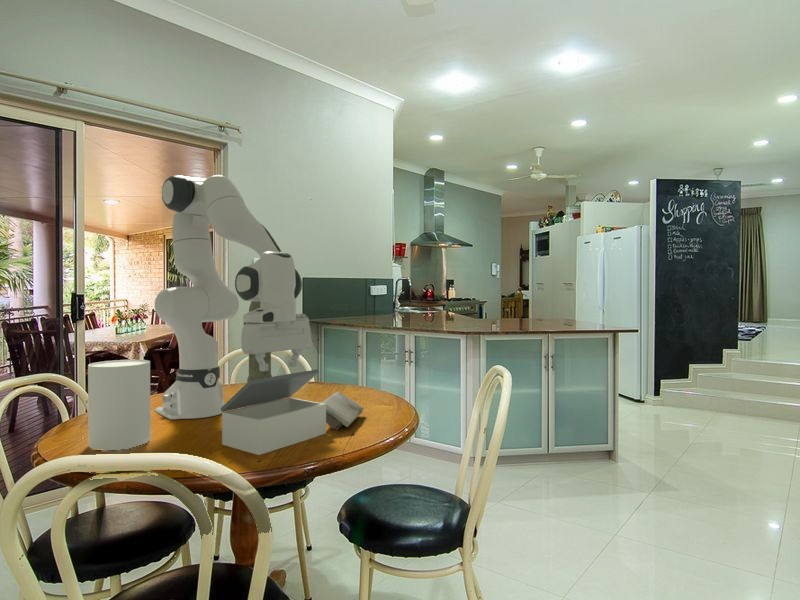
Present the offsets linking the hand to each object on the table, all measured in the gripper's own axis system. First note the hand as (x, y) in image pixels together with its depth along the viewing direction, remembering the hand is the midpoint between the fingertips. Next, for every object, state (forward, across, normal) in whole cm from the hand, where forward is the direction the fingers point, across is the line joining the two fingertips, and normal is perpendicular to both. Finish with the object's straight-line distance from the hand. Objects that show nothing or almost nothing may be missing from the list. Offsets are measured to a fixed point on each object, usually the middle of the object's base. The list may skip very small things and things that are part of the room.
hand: (278, 368), depth 128 cm
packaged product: (+18, -22, +6) cm, 29 cm away
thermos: (+18, -33, -49) cm, 62 cm away
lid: (+10, 0, -8) cm, 13 cm away
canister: (+18, +25, -30) cm, 43 cm away
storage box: (+18, 0, -1) cm, 18 cm away
